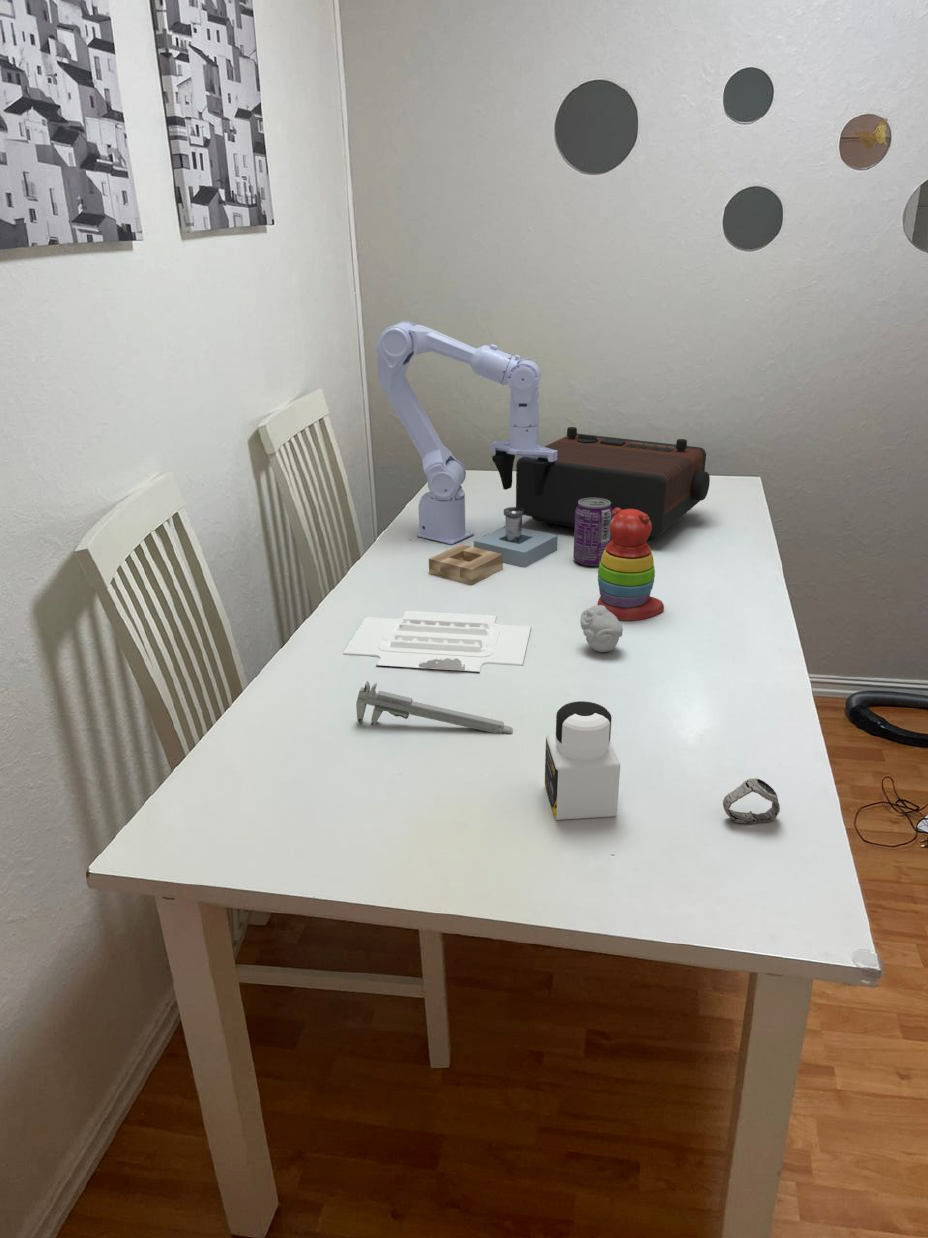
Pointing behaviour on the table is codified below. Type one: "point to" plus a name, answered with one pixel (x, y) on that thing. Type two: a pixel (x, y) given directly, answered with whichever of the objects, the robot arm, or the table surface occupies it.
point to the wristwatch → (750, 817)
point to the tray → (440, 641)
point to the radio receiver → (616, 479)
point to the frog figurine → (600, 628)
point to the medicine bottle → (582, 763)
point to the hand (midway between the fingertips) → (523, 491)
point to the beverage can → (591, 530)
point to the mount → (465, 564)
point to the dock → (519, 546)
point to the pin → (513, 524)
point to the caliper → (420, 711)
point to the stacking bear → (628, 568)
